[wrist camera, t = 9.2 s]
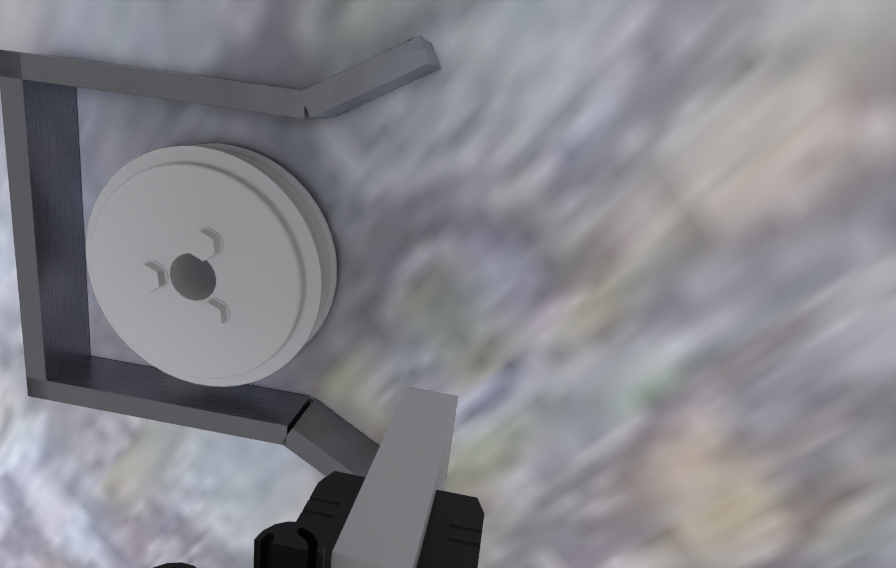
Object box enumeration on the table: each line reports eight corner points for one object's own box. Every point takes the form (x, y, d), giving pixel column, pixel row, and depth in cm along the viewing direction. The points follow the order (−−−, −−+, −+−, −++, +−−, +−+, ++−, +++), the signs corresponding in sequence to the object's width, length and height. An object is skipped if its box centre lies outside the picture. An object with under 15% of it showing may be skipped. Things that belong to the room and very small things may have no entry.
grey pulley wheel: (337, 144, 31) (302, 150, 26) (346, 366, 35) (317, 407, 30) (114, 140, 33) (43, 145, 28) (145, 353, 36) (86, 390, 31)
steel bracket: (49, -5, 31) (-10, -19, 27) (444, 45, 29) (432, 36, 25) (76, 411, 38) (32, 440, 34) (394, 473, 36) (379, 510, 33)
